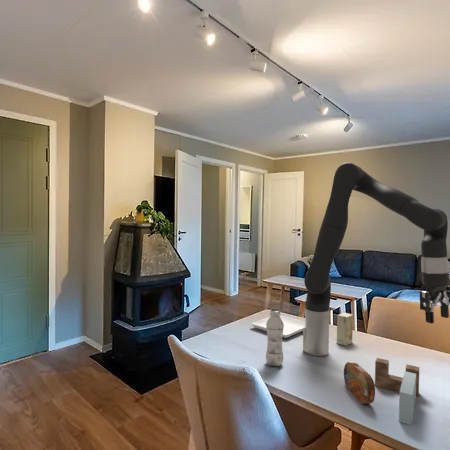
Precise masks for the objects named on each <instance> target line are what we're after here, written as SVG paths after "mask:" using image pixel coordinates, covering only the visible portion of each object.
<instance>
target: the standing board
mask: <svg viewBox="0 0 450 450" xmlns="http://www.w3.org/2000/svg"><path fill="white" fill-rule="evenodd" d="M375 359H376V360H375V363H374V364H375V368H374V384H375V387H377V388H378V387H379V388H382V389H385V390H390V391H393V392H397V393H400V388H401V384H402V380H403V377H401V376H397V375H394V374H389V369H390V368H389V367H390V360H389V359H385V358H380V357H376V358H375ZM405 371H406V372H410V373H415V374H416V398H419V396H420V395H419V394H420V367H419V366H416V365H412V364H411V365H410V364H406V365H405Z"/></svg>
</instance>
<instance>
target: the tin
mask: <svg viewBox="0 0 450 450" xmlns="http://www.w3.org/2000/svg"><path fill="white" fill-rule="evenodd" d="M343 380H344V383H345V387H346V388H347V390H348V391H349V392H350V393H351V394H352V396H353V397H355V399H356V400H357V401H358V402H359V403H360V404H363V405H364V404H372V403H374V401H375V397H376V386H375V380H374V379H373V377H372V376H371V374H370V373H368V371H366V370H365V369H364V368H363V367H362V366H361V365H360V364H358V363H356V362H350V361H349V362H348V361H347V362H346V363H345V365H344V367H343Z"/></svg>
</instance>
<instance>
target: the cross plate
mask: <svg viewBox="0 0 450 450" xmlns="http://www.w3.org/2000/svg"><path fill="white" fill-rule="evenodd" d="M402 378H403V380H402V384H401V388H400V392H399V397H398V398H399V399H398V400H399V402H398V403H399V404H398V405H399V406H398V422H399V423H403V424H405V423H406V424H405V425H409V426H413V420H414V408H416V401H417V400H416V399H417V397H416V374H415V373H410V372H406V370H405V371H404V372H403V377H402Z"/></svg>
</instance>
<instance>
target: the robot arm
mask: <svg viewBox="0 0 450 450" xmlns="http://www.w3.org/2000/svg"><path fill="white" fill-rule="evenodd" d="M353 191H355V192H359V193H361V194H363V195H366V196H368V197H370V198H372V199H373V200H375V201H376V202H378V203H379V204H380V205H382V206H384V207H385V208H387V209H389V210H390V211H392V212H394V213H396V214H398V215H400V216H402V217H404V218H406V219H407V221H409V222H410V223H412V224H414V225H415V226H416V227H418V228H419V229H422V230H423V239H422V241H421V243H420V245H421V246H420V248H421V249H420V250H421V264H420V265H421V266H420V267H421V268H420V269H421V284H422V285H423V286H425V287H426V289H425V291H424V290H420V291H419V309H420V310H422V311H424V312H425V313H424V315H425V323H429V324H432V325H433V324H434V322H435V316H434V315H435V314H434V313H435V312H434V310H435V307H437V305H438V303H439V304H440V307H439V308H440V317H442V318H443V319H444V318H445V319H448V318H449V317H450V311H449V307H450V268H449V267H450V266H449V265H450V264H449V259H448V249H447V248H448V247H447V245H448V244H447V236H448V227H449V224H448V222H449V221H448V216H447V214H446V213H445V211H444V210H441V209H439V208H431V207H428V206H427V205H424V204H423V203H421V202H419V200H417V199H416V198H415V197H414V196H412V195H409V194H407V193H405V192H404V191H401V190H399V189H397V188H394V187H392V186H389V185H388V184H385V183H383V182H381V181H379V180H377V179H376V178H374V177H372V176H371V175H370V174H368V172H366V171H365V170H363V169H362V167H360V166H358V165H356V164H355V163H352V162H343V163H341V164H340V165H339V166H338V167H337V169H336V170H335V173H334V176H333V182H332V187H331V192H330V197H329V199H328V203H327V206H326V209H325V212H324V216H323V219H322V222H321V225H320V227H319V228H320V229H319V232H318V236H317V241H316V244H315V249H314V254H313V256H312V260H311V262H310V263H309V264H310V265H309V267H308V269H307V272H306V274H305V276H304V280H303V281H304V286H305V288H306V291H307V292H306V299H305V304H304V306H305V308H304V309H305V310H304V312H305V313H304V314H305V315H304V322H305V327H304V328H303V331H302V352H305V353H306V354H308V355H310V356H315V357H325V356H327V355H329V354H330V353H329V351H330V350H329V349H330V347H329V346H330V345H329V344H330V303H331V295H332V294H331V290H332V279H331V275H330V272H331V268H332V265H333V262H334V259H335V257H336V255H337V254H338V252H339V250H340V247H341V245H342V243H343V241H344V239H345V235H346V231H347V228H348V224H349V203H350V198H351V196H352V193H353Z"/></svg>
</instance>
